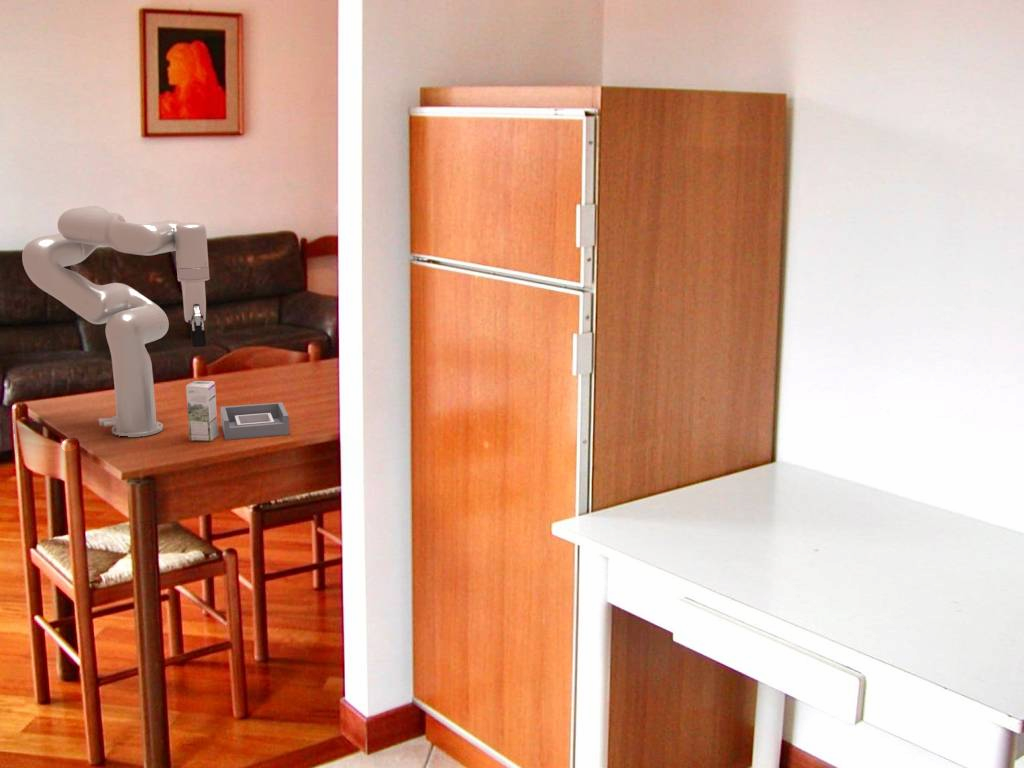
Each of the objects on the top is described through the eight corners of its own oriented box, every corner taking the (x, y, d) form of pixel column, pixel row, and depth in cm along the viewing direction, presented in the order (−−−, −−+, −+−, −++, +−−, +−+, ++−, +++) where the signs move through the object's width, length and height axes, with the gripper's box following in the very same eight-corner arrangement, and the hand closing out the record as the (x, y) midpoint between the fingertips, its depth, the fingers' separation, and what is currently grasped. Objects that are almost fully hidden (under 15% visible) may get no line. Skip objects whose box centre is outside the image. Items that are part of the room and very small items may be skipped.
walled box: (225, 439, 296) (224, 420, 295) (221, 425, 309) (220, 407, 308) (289, 434, 301) (288, 415, 300) (282, 420, 314) (282, 402, 313)
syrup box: (219, 435, 300) (215, 380, 297) (211, 442, 295) (207, 385, 291) (197, 434, 301) (193, 379, 297) (188, 441, 295) (184, 385, 292)
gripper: (176, 270, 295) (181, 337, 299) (178, 280, 279) (184, 350, 283) (207, 268, 297) (211, 335, 301) (211, 278, 281) (216, 348, 285)
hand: (198, 342), depth 292 cm, fingers open, 9 cm apart
